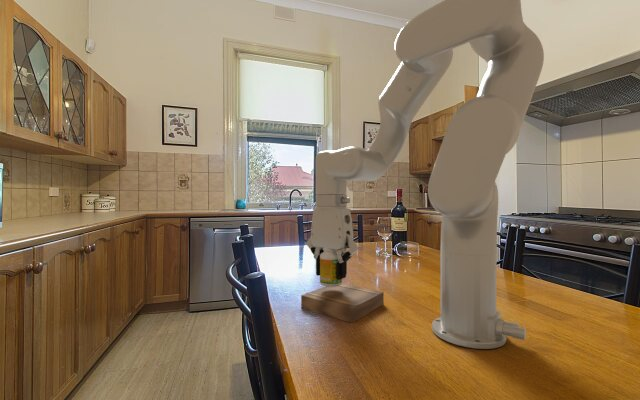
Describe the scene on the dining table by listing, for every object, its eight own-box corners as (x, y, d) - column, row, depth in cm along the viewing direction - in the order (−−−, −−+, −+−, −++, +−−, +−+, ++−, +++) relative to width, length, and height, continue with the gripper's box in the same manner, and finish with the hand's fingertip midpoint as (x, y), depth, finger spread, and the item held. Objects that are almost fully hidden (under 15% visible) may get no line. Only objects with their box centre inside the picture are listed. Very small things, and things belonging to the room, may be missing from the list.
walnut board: (383, 304, 75) (383, 291, 75) (351, 322, 64) (351, 307, 64) (336, 293, 84) (336, 282, 84) (301, 308, 73) (301, 294, 73)
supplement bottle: (333, 288, 73) (333, 246, 73) (315, 284, 76) (315, 244, 76) (346, 283, 77) (346, 243, 77) (328, 279, 80) (328, 242, 80)
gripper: (369, 202, 74) (369, 279, 74) (313, 201, 85) (313, 268, 85) (352, 203, 68) (352, 286, 68) (294, 202, 79) (294, 274, 79)
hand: (330, 275), depth 76 cm, fingers closed on supplement bottle, 5 cm apart
